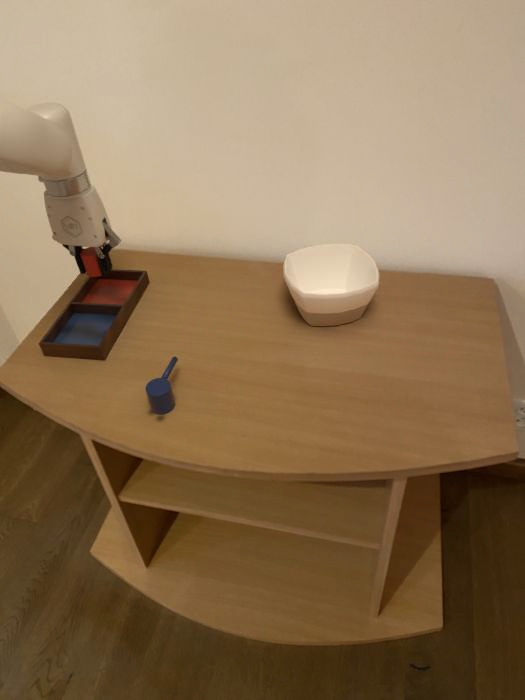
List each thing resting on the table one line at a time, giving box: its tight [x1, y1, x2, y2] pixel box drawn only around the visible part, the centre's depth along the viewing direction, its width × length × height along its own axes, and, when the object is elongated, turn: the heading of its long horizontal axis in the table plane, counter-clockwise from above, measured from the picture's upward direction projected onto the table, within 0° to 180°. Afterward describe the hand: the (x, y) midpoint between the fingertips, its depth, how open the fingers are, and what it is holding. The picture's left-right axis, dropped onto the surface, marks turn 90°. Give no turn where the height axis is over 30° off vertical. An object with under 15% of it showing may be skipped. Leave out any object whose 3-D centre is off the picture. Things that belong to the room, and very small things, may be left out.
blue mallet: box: [145, 356, 179, 415], centre depth 85 cm, size 10×4×4 cm, turn 165°
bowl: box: [282, 243, 381, 327], centre depth 98 cm, size 18×18×9 cm
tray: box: [38, 268, 151, 361], centre depth 102 cm, size 25×12×3 cm, turn 170°
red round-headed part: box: [80, 237, 109, 277], centre depth 101 cm, size 10×4×4 cm, turn 165°
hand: (96, 270), depth 100 cm, fingers closed on red round-headed part, 4 cm apart
